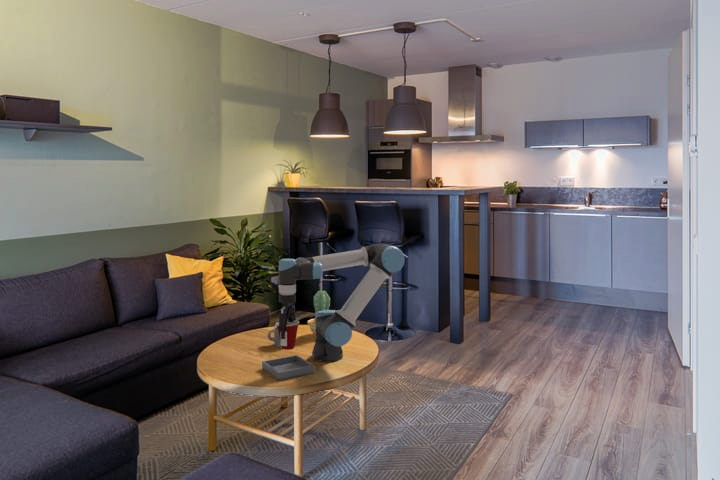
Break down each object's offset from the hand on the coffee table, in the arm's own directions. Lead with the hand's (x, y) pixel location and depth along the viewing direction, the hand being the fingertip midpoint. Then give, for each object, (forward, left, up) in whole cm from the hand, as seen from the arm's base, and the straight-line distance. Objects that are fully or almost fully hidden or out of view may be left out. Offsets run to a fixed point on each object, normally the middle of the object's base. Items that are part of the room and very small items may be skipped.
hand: (287, 342), depth 249 cm
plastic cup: (0, 0, -3) cm, 3 cm away
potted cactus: (-40, -42, -13) cm, 60 cm away
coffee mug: (-14, -38, -14) cm, 43 cm away
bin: (0, 0, -13) cm, 13 cm away
